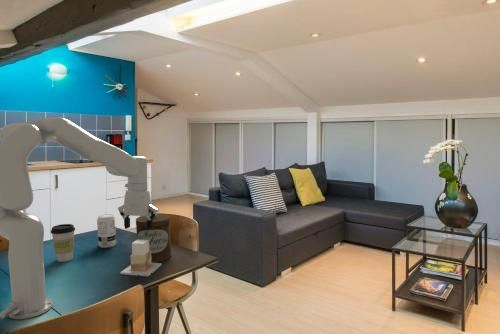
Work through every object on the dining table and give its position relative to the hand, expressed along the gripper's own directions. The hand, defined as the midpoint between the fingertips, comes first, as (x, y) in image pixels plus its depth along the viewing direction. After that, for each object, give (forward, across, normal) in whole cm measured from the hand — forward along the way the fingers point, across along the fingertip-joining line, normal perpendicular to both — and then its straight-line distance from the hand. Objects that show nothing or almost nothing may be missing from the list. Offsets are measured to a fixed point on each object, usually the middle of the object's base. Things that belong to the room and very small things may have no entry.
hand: (138, 228), depth 151 cm
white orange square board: (+17, +1, +1) cm, 17 cm away
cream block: (+10, 0, +1) cm, 11 cm away
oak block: (+16, 0, +1) cm, 17 cm away
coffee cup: (+18, -39, +6) cm, 44 cm away
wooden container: (+17, -1, +16) cm, 24 cm away
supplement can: (+17, -32, +27) cm, 45 cm away
